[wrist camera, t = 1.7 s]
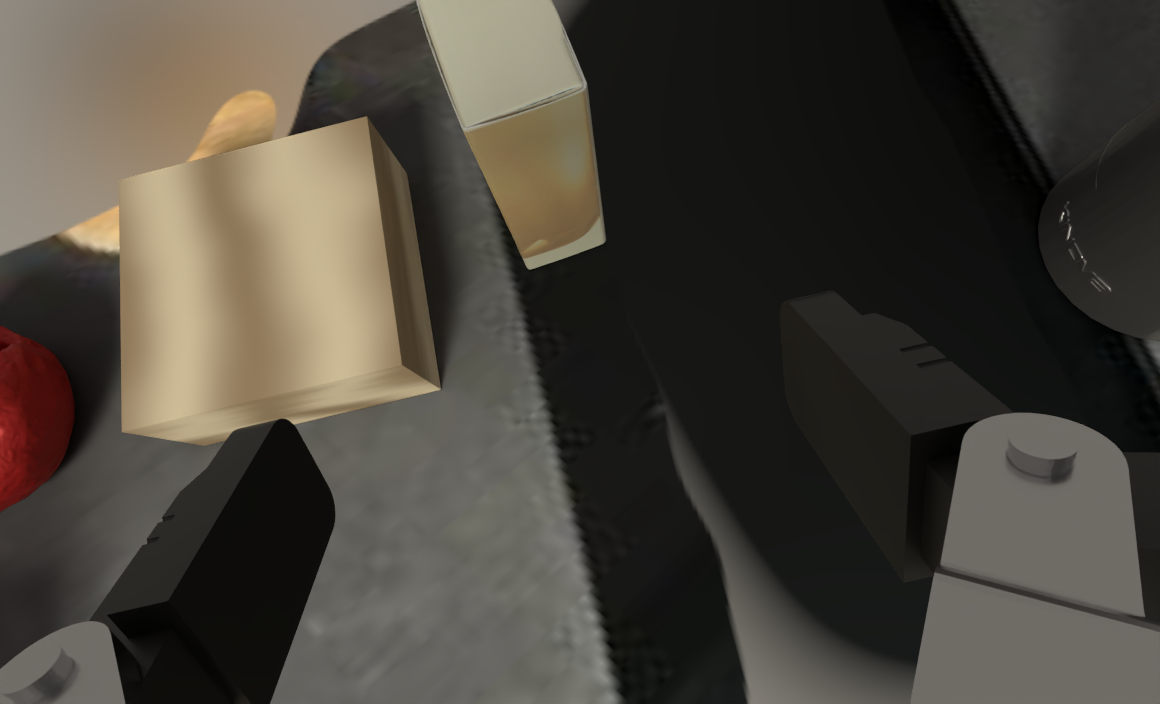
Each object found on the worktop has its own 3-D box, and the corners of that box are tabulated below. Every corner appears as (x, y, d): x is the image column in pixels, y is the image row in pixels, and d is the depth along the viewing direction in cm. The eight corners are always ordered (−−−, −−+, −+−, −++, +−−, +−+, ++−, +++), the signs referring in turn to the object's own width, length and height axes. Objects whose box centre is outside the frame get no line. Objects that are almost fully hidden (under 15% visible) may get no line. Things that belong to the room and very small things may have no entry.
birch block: (407, 174, 33) (366, 116, 29) (441, 389, 30) (401, 365, 25) (193, 227, 34) (118, 179, 29) (204, 445, 31) (121, 431, 26)
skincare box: (491, 171, 33) (405, -22, 21) (569, 143, 33) (526, -67, 21) (529, 278, 31) (458, 132, 19) (611, 248, 31) (590, 83, 19)
